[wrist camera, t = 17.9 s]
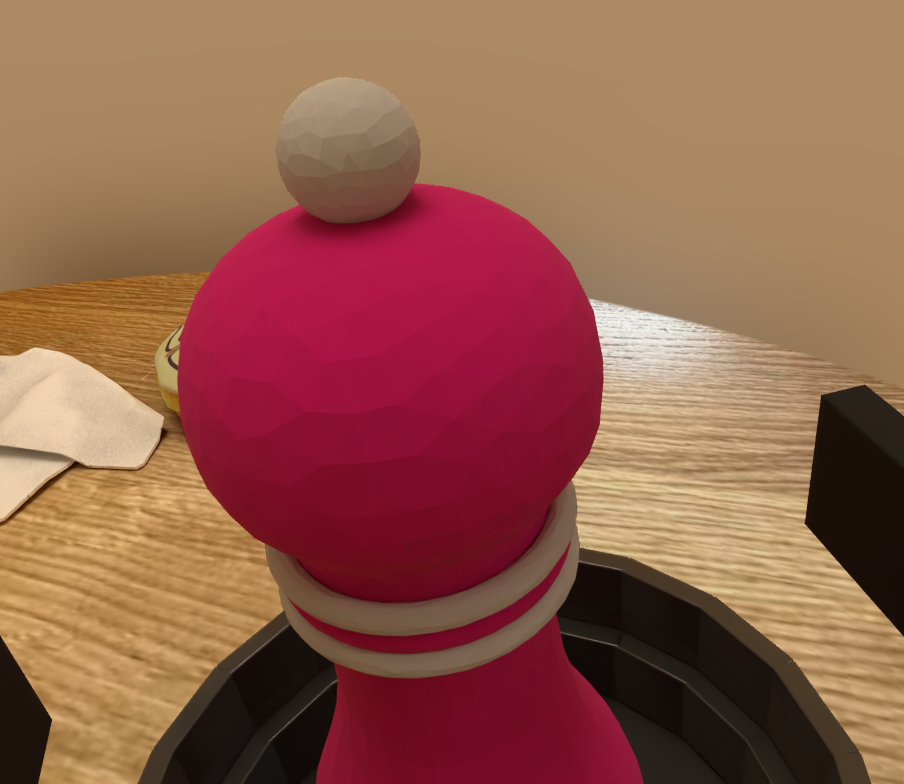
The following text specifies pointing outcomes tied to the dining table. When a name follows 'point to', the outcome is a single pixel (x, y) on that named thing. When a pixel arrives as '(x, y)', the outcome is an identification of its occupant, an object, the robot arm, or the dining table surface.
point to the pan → (591, 653)
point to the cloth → (65, 423)
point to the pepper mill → (408, 452)
